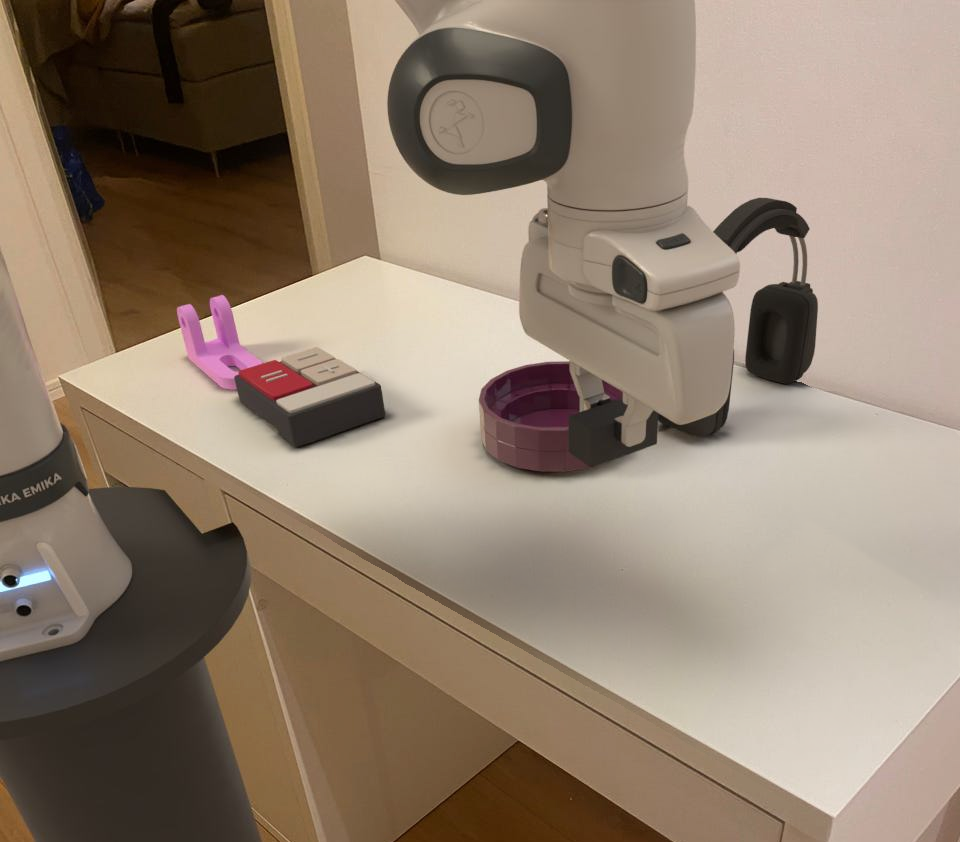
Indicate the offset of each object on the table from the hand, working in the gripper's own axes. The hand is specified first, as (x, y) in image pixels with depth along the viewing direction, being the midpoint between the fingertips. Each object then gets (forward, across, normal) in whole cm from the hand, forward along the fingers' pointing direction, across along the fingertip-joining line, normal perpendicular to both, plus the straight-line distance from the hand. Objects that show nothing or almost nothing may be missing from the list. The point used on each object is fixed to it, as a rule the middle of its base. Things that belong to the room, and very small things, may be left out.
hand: (612, 429), depth 73 cm
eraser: (+2, 0, 0) cm, 2 cm away
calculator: (+14, -45, -8) cm, 48 cm away
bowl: (+14, -23, +10) cm, 28 cm away
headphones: (+14, -19, +30) cm, 38 cm away
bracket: (+14, -61, -12) cm, 64 cm away
